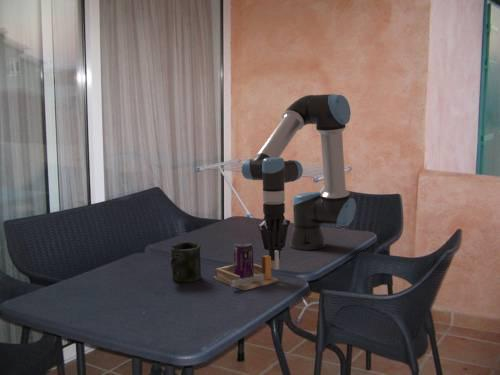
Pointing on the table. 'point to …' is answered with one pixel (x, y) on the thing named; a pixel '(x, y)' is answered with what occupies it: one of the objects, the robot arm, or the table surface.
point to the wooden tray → (228, 275)
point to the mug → (186, 262)
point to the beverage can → (243, 259)
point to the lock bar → (264, 276)
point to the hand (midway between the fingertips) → (274, 268)
